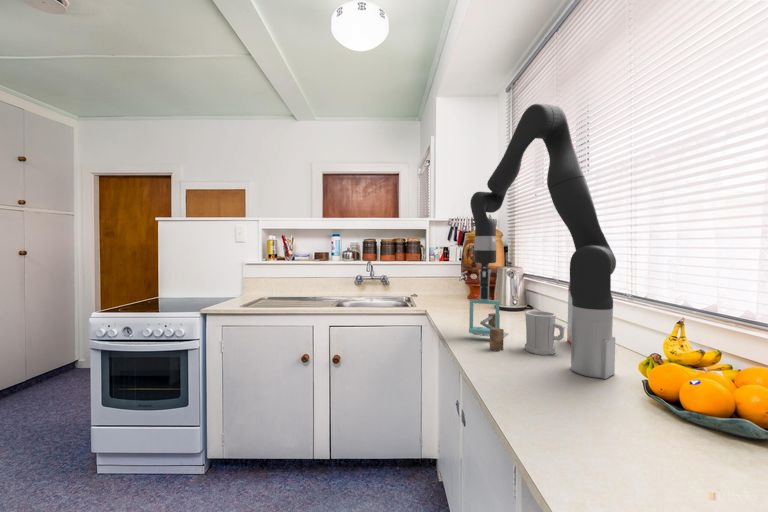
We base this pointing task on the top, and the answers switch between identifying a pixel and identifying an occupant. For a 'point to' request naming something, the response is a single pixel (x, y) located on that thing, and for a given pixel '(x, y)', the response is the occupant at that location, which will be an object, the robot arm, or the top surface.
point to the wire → (486, 321)
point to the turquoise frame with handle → (472, 329)
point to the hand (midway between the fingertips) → (484, 297)
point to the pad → (489, 334)
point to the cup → (541, 332)
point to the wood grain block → (495, 334)
